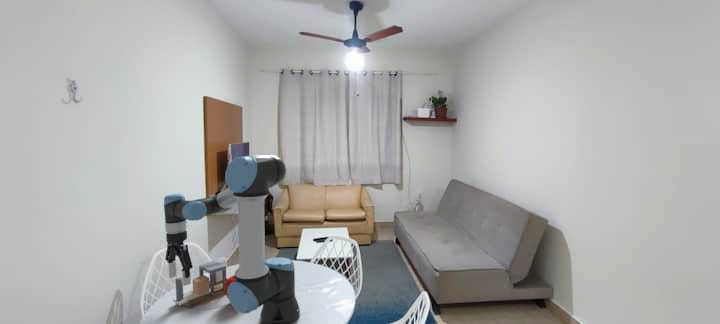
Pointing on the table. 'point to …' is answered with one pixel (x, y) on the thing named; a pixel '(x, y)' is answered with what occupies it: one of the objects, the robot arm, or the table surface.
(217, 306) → the table surface
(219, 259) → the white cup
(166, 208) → the robot arm
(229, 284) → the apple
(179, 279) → the u-shaped holder
